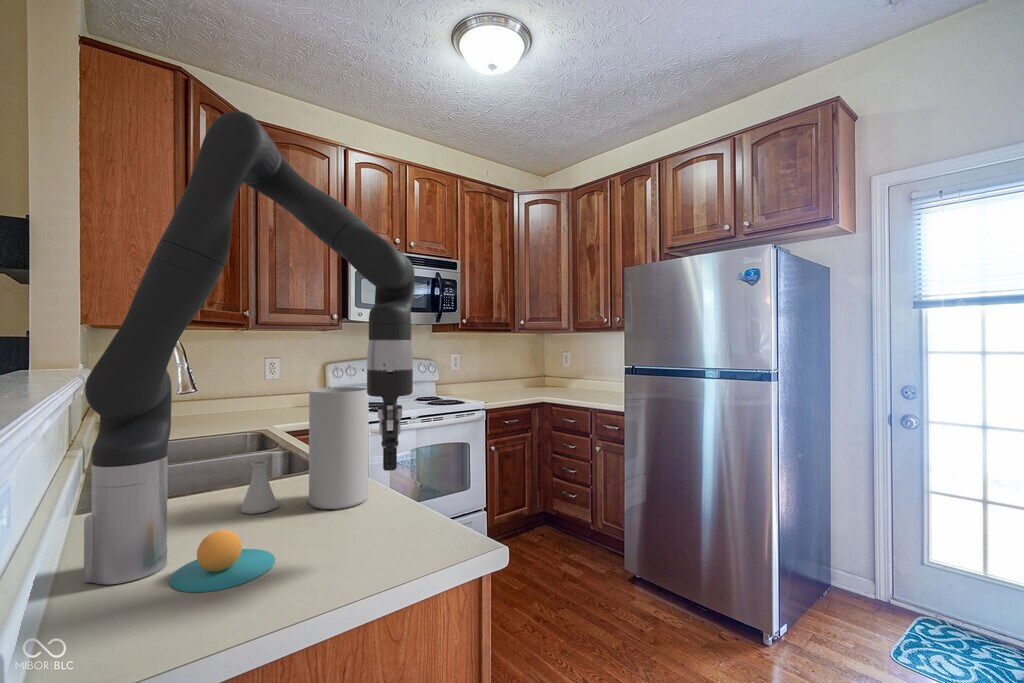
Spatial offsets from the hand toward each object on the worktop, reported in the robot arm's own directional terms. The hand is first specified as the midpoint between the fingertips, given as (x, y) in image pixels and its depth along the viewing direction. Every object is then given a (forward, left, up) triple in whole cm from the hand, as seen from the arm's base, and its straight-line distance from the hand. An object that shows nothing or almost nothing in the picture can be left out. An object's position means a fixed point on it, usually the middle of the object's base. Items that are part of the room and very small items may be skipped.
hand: (389, 469), depth 81 cm
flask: (-27, +29, -14) cm, 42 cm away
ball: (-26, 0, -11) cm, 28 cm away
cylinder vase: (-11, +30, -14) cm, 35 cm away
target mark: (-25, 0, -14) cm, 29 cm away
